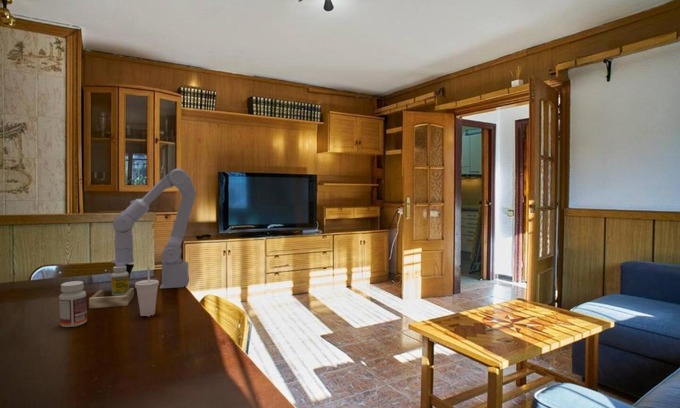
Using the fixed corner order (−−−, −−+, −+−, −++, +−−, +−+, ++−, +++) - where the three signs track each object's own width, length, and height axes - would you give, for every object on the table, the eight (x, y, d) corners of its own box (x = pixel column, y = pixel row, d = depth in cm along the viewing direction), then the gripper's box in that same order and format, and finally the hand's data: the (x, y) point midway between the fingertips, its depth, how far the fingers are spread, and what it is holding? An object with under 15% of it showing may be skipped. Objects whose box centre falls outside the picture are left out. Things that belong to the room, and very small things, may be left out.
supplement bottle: (126, 290, 141) (126, 264, 140) (131, 293, 137) (130, 266, 136) (109, 293, 137) (109, 266, 136) (114, 296, 133) (113, 268, 133)
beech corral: (134, 296, 134) (133, 287, 134) (126, 305, 124) (126, 296, 124) (99, 298, 131) (99, 289, 131) (89, 308, 121) (89, 298, 121)
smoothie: (164, 312, 117) (163, 266, 117) (145, 319, 111) (144, 270, 111) (149, 309, 120) (148, 264, 119) (130, 316, 114) (129, 268, 113)
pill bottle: (88, 318, 112) (87, 279, 111) (85, 325, 106) (84, 284, 106) (62, 321, 109) (61, 281, 109) (57, 329, 104) (56, 287, 103)
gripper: (116, 245, 148) (117, 281, 149) (105, 252, 134) (106, 291, 135) (137, 244, 150) (138, 279, 151) (128, 251, 136) (129, 289, 137)
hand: (124, 285), depth 143 cm, fingers closed
